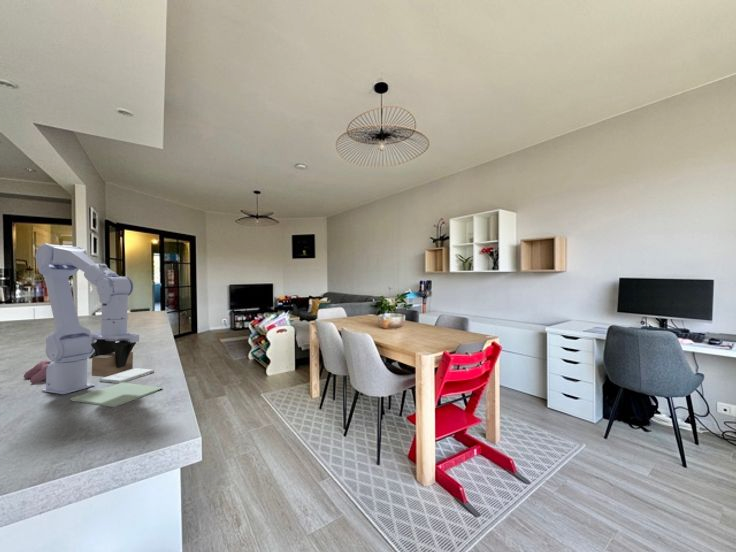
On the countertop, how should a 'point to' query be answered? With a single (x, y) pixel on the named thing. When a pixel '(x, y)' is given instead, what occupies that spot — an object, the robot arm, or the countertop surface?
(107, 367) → the labeled brown box
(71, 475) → the countertop surface
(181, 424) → the countertop surface
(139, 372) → the external hard drive
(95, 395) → the sage mat
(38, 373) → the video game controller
